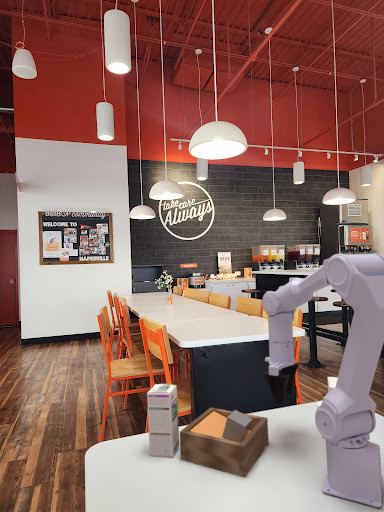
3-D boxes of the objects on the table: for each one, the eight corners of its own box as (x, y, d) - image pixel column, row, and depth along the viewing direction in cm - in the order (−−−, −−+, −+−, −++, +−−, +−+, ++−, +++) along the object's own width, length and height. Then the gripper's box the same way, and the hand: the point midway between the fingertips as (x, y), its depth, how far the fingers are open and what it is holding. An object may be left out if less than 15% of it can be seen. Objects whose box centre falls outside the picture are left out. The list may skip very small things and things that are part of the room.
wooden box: (268, 443, 83) (267, 417, 83) (245, 477, 70) (244, 446, 70) (211, 430, 90) (210, 407, 91) (180, 459, 77) (179, 431, 77)
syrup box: (173, 458, 78) (171, 392, 78) (148, 456, 79) (146, 391, 80) (179, 445, 83) (177, 383, 84) (156, 443, 85) (154, 383, 85)
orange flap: (256, 438, 83) (257, 434, 83) (237, 463, 72) (238, 459, 72) (212, 414, 88) (213, 410, 88) (189, 434, 78) (190, 430, 78)
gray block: (246, 438, 80) (252, 418, 79) (239, 447, 76) (245, 426, 76) (229, 429, 82) (235, 409, 81) (221, 437, 78) (227, 416, 78)
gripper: (273, 334, 93) (275, 386, 92) (254, 345, 80) (257, 405, 79) (300, 336, 89) (303, 390, 88) (285, 348, 76) (288, 411, 76)
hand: (283, 397), depth 84 cm, fingers open, 7 cm apart
